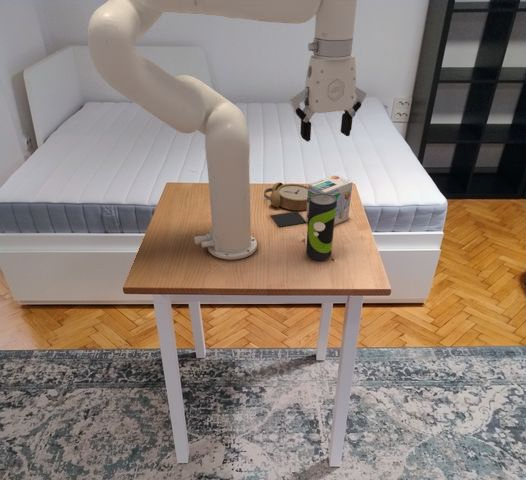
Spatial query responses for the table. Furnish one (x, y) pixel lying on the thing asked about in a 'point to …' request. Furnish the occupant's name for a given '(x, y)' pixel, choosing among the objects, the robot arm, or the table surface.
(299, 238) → the table surface
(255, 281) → the table surface
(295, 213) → the mat
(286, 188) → the alarm clock
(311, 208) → the beverage can
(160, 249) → the table surface
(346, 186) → the light bulb box
